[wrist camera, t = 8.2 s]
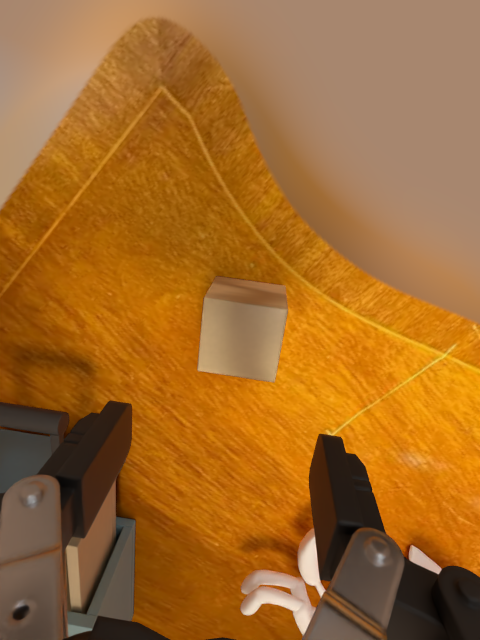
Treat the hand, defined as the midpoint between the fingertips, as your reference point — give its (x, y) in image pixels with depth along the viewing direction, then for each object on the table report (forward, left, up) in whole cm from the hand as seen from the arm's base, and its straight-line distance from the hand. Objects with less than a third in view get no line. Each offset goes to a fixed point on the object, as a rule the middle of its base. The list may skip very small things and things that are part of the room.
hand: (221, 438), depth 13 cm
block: (0, 0, -13) cm, 13 cm away
